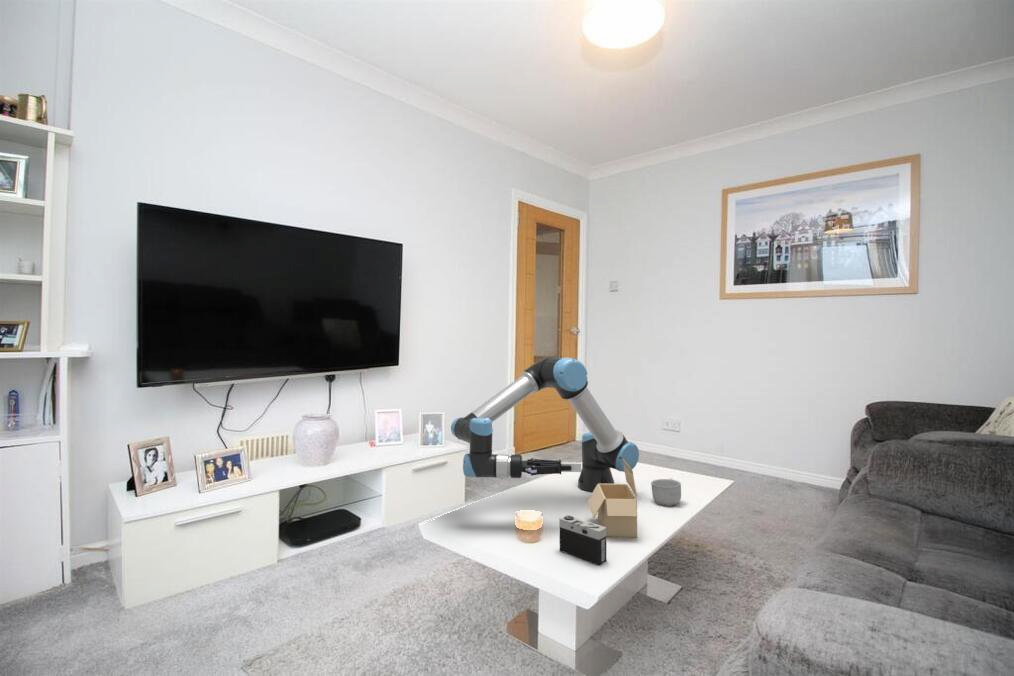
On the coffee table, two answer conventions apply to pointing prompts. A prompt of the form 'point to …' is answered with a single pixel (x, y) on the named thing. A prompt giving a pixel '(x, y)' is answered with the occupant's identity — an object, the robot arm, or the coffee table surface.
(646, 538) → the coffee table surface
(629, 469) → the flap
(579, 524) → the camera
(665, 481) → the teacup
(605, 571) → the coffee table surface
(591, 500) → the carton
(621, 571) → the coffee table surface
